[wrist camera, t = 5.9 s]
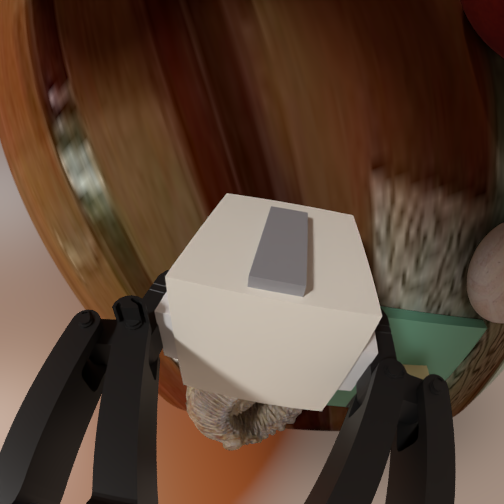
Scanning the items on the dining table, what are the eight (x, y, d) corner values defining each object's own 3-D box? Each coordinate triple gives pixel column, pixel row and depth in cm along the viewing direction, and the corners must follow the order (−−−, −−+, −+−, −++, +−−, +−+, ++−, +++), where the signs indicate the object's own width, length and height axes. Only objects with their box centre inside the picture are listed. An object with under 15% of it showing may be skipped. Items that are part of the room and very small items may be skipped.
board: (293, 391, 27) (289, 424, 23) (331, 298, 20) (333, 340, 16) (416, 400, 25) (420, 428, 22) (482, 319, 18) (498, 352, 14)
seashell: (217, 311, 28) (145, 372, 21) (303, 342, 22) (229, 432, 16) (241, 385, 34) (193, 435, 27) (306, 414, 28) (258, 477, 22)
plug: (222, 290, 17) (183, 384, 11) (227, 185, 13) (163, 265, 8) (323, 309, 16) (321, 411, 11) (354, 208, 13) (387, 306, 7)
